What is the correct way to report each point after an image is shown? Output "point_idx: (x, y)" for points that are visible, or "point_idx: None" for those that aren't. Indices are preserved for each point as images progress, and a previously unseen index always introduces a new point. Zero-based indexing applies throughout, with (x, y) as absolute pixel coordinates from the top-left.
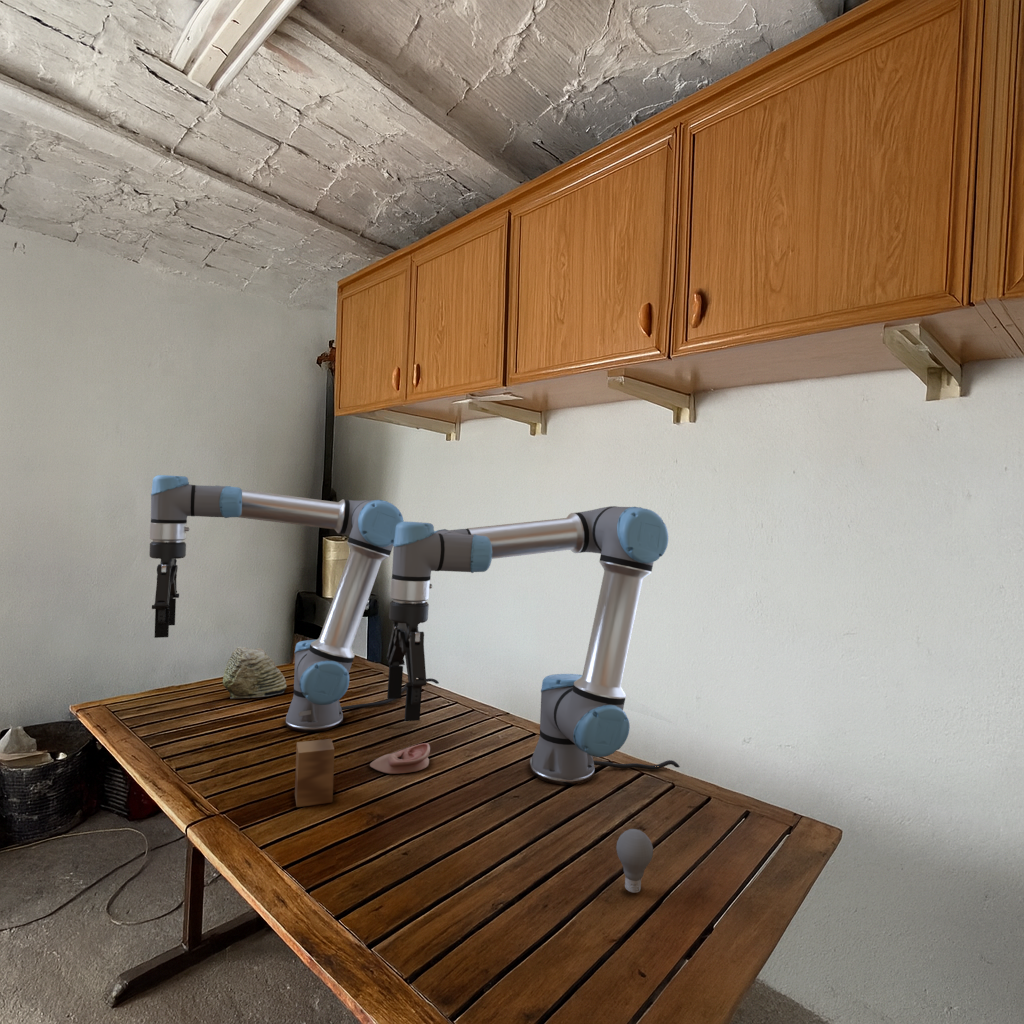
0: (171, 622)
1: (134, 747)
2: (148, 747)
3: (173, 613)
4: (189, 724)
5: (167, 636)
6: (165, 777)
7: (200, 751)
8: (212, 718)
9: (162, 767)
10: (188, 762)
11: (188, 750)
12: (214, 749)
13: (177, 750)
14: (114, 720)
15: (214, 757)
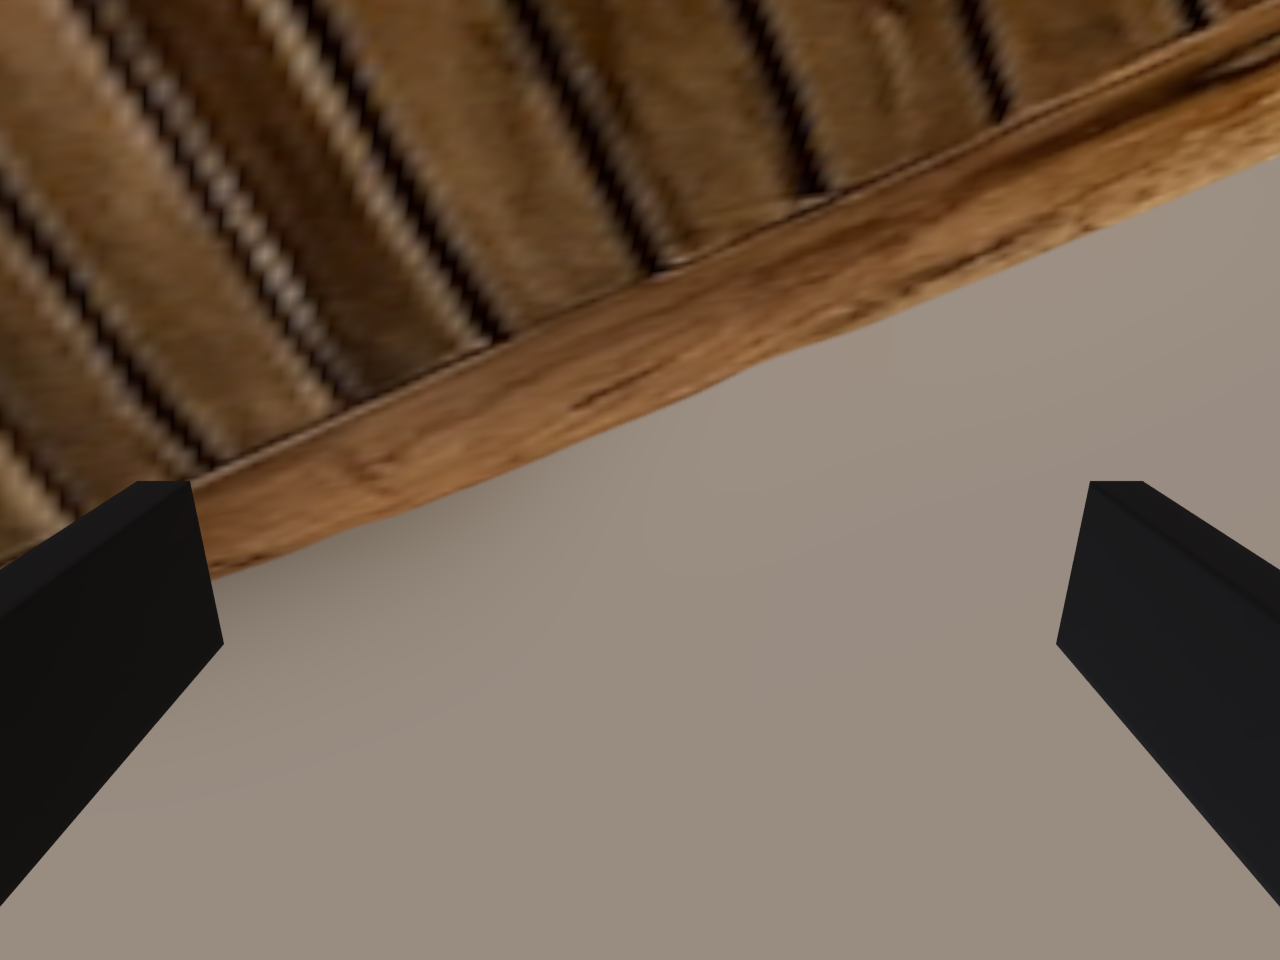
0: (174, 548)
1: (479, 413)
2: (493, 353)
3: (65, 604)
4: (177, 186)
5: (1146, 493)
6: (889, 233)
7: (610, 92)
8: (76, 55)
9: (766, 260)
10: (743, 143)
11: (580, 157)
12: (600, 14)
13: (566, 213)
14: None
15: (717, 8)
